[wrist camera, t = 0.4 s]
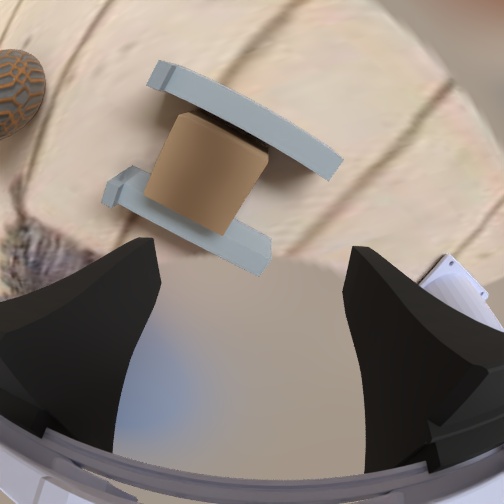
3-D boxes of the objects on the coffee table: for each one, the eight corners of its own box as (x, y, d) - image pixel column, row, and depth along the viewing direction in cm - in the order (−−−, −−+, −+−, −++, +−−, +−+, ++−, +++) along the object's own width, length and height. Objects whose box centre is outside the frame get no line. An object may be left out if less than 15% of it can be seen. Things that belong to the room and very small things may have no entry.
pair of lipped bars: (333, 149, 17) (347, 163, 14) (260, 254, 21) (258, 284, 18) (179, 65, 15) (159, 59, 11) (125, 183, 19) (101, 202, 16)
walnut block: (268, 147, 17) (268, 162, 14) (231, 208, 19) (222, 236, 16) (197, 109, 16) (178, 114, 13) (165, 173, 18) (142, 194, 15)
